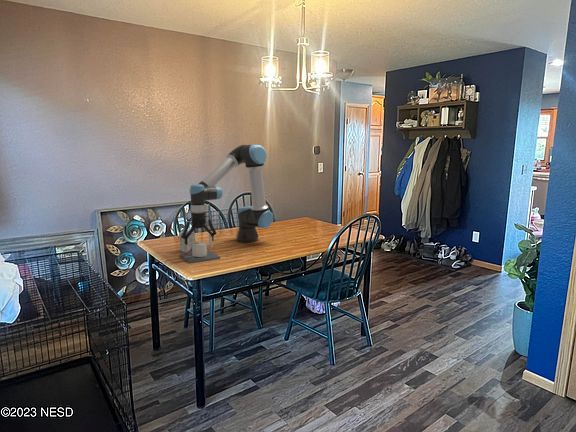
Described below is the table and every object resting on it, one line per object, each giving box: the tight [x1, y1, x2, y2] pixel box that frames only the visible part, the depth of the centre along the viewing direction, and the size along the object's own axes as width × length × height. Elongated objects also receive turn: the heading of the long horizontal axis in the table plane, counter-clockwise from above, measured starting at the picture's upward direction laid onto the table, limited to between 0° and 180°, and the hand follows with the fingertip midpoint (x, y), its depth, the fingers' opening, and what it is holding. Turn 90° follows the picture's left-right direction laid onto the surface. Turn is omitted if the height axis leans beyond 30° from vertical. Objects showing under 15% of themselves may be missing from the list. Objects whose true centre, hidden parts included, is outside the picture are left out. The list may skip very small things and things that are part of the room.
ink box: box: [178, 230, 196, 253], centre depth 240 cm, size 9×5×12 cm, turn 136°
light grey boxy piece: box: [191, 241, 208, 257], centre depth 225 cm, size 8×8×8 cm
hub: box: [179, 249, 221, 264], centre depth 225 cm, size 18×18×6 cm
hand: (199, 248), depth 225 cm, fingers open, 13 cm apart
